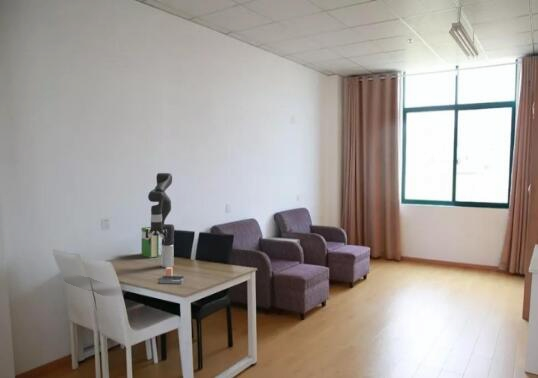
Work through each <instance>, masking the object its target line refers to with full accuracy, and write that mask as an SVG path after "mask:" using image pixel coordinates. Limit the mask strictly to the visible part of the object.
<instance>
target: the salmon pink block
mask: <svg viewBox="0 0 538 378" xmlns="http://www.w3.org/2000/svg"><path fill="white" fill-rule="evenodd" d="M173 267H174V266H173ZM173 267H167V268H165V276H174V272H173V271H174V269H173Z"/></svg>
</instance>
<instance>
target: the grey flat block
mask: <svg viewBox="0 0 538 378" xmlns="http://www.w3.org/2000/svg"><path fill="white" fill-rule="evenodd" d="M158 282H159V283H158V284H166V285H167V284H168V285H169V284H171V285H172V284H174V285H182V284H183V282H185V276H184V275H173V276H166V275H162V277H161V278H160V279H159V281H158Z"/></svg>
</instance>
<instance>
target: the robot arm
mask: <svg viewBox="0 0 538 378" xmlns="http://www.w3.org/2000/svg"><path fill="white" fill-rule="evenodd" d="M172 175H173V174H172V173H170V172H158V173H157V174H156V186H155V187H154V189H151V191H149V193H148V196H147V197H148V198H147V199H148V200H149V202H152V203H157V204H155V205H152V206H151V209H150V227H151V229H146V238H148V243H149V244H151V237H152V236H153V235H154V236H159V238H161V268H165V269H166V268H167V267H174V265H175V264H174V260H175V259H174V258H175V256H174V254H175V252H174V247H175V246H174V245H175V244H174V243H175V226H174V224H172V223H171V224H167V223H165V220H166V218H168V216H169V214H170V213H171V210H172V201H171V198H170V196H168V195H167V193H166V190H167V189H168V188H169V187H170V186H171V185H172V183H173V176H172ZM149 231H150V232H151V235H150V236H148V234H149Z"/></svg>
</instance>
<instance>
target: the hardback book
mask: <svg viewBox="0 0 538 378" xmlns="http://www.w3.org/2000/svg"><path fill="white" fill-rule="evenodd" d="M146 229H151V226H147V227H146V226H144V227H141V256H144V257H146V258H148V257H149V259H152V258H159V251H160V250H159V249H160V248H159V238H160V236H154V235H153V236H152V237H151V244H149V243H148V238H146ZM150 235H151V232H150V231H149V234H148V236H150Z"/></svg>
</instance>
